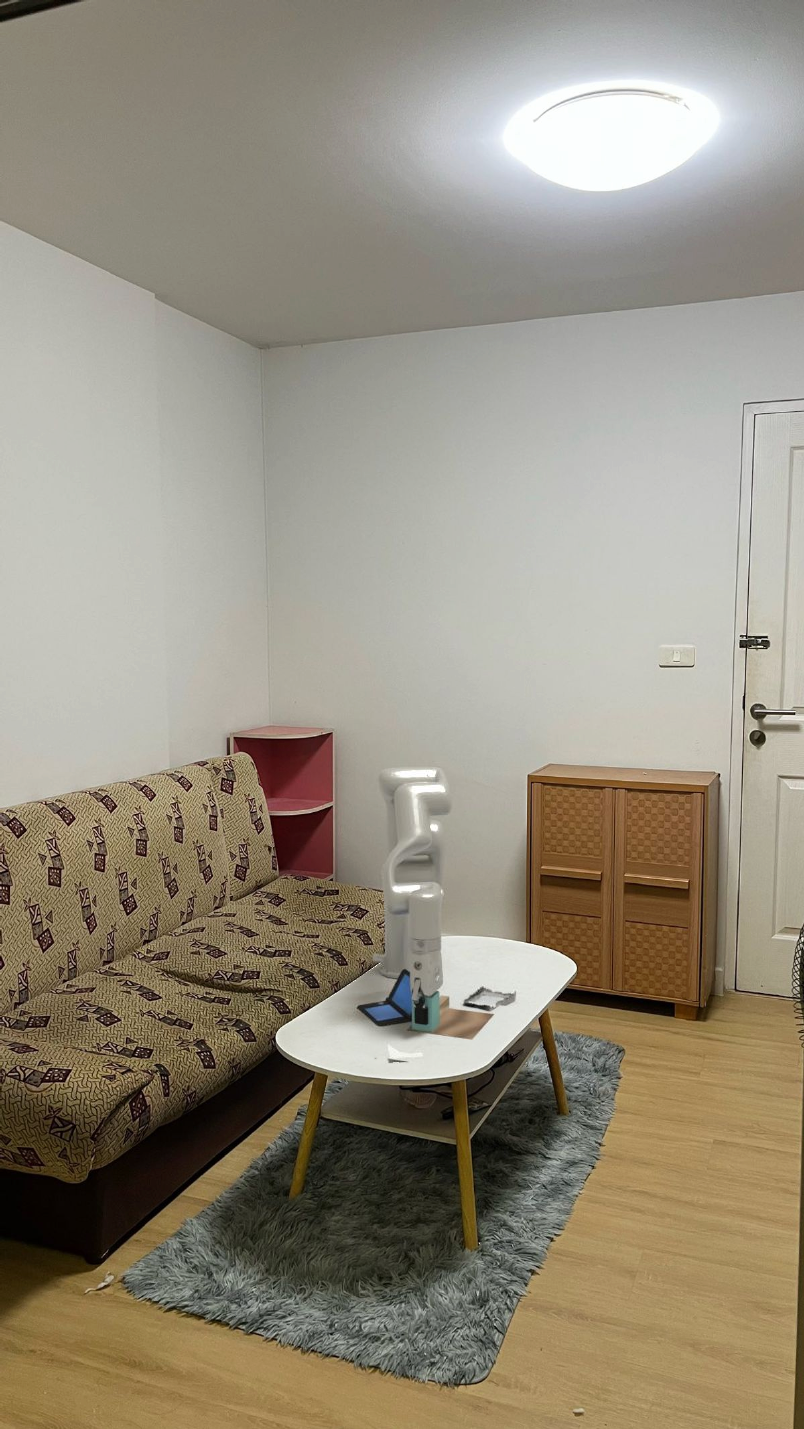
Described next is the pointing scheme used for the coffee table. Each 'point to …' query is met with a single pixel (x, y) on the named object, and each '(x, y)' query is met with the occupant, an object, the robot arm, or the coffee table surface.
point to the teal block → (429, 1013)
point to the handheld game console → (392, 1004)
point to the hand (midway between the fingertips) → (425, 1018)
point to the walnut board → (458, 1021)
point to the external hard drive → (400, 1055)
